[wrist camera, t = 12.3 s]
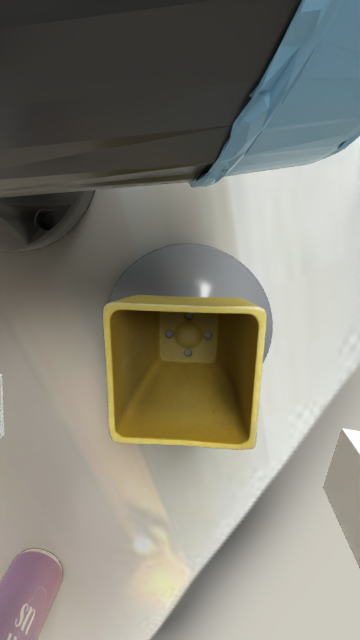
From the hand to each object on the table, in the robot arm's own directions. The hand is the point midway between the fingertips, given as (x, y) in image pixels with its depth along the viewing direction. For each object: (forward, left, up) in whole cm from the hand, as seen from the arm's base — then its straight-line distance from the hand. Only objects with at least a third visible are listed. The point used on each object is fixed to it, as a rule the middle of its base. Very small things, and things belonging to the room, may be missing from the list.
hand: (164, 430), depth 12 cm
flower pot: (0, -1, -15) cm, 15 cm away
